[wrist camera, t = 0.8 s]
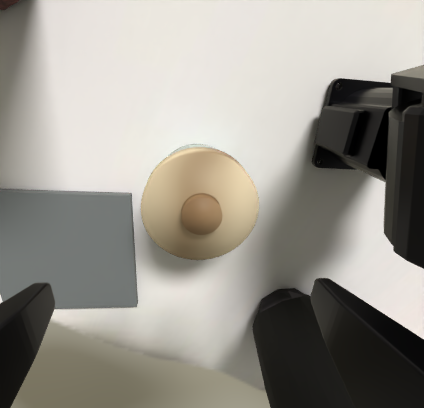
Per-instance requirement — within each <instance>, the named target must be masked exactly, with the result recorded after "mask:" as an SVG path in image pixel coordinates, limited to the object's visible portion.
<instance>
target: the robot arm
mask: <svg viewBox="0 0 424 408" xmlns="http://www.w3.org/2000/svg"><path fill="white" fill-rule="evenodd" d="M337 83H339V88H338V89H336V84H337ZM315 143H316V146H315V150H314V154H313V158H312V164H313V165H314V166H316V167H318V168H336V169H358V170H360V171H362V172H364V173H366V174H369V175H371V176H373V177H375V178H377V179H379V180H382V181H384V182H386V184H385V207H384V234H385V235H386V237H387V238H388V240H389V241H390V243H391V244H392V245H393V246H394V249H393V250H394V252H395V253H397V254H398V255H400V256H401V257H402V258H404V259H405V260H407V261H409V262H411V263H413V264H415V265H417V266H419V267H421V268H423V269H424V65H422V66H418V67H415V68H411V69H407V70H404V71H400V72H397V73H393V74H391V83H385V82H374V81H363V80H352V79H342V78H340V79H335V80H333V81H332V82H331V84H330V86H329V91H328V95H327V99H326V103H325V107H324V108H323V109H322V112H321V116H320V121H319V125H318V129H317V134H316V138H315ZM319 159H321V161H320V163H317V161H318V160H319ZM311 303H312V306H313V309H314V312H315V315H316V317H317V320H318V323H319V326H320V329H321V332H322V335H323V338H324V340H325V343H326V346H327V348H328V350H329V352H330V355H331V357H332V359H333V361H334V363H335V366H336V368H337V370H338V372H339V374H340V376H341V379H342V381H343V383H344V385H345V387H346V389H347V392H348V394H349V396H350V398H351V400H352V403H353V405H354V407H355V408H424V339H422V338H420V337H419V336H417V335H416V334H414V333H413V332H411V331H410V330H408V329H406V328H405V327H403V326H402V325H400V324H399V323H397V322H396V321H394V320H392V319H391V318H389V317H388V316H386V315H385V314H383V313H382V312H380V311H378V310H377V309H375V308H374V307H372V306H371V305H369V304H368V303H366V302H364V301H363V300H361V299H360V298H358V297H357V296H355V295H354V294H352V293H350V292H349V291H347V290H346V289H344V288H343V287H341V286H340V285H338V284H336V283H335V282H333V281H332V280H330V279H328V278H317V279H316V280H315V282H314V286H313V289H312V293H311ZM54 308H55V299H54V295H53V291H52V288H51V285H50V283H47V282H37V283H34V284H32V285H30V286H28V287H27V288H25V289H24V290H22V291H20V292H19V293H17V294H15V295H14V296H12V297H10V298H9V299H7V300H6V301H4V302H2V303H1V304H0V408H10V407H11V405H12V403H13V401H14V399H15V397H16V395H17V393H18V391H19V389H20V387H21V385H22V383H23V381H24V379H25V377H26V375H27V373H28V371H29V369H30V367H31V365H32V363H33V361H34V359H35V357H36V355H37V352H38V350H39V347H40V345H41V342H42V340H43V337H44V334H45V332H46V329H47V327H48V324H49V321H50V319H51V316H52V314H53V311H54Z"/></svg>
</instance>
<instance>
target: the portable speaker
mask: <svg viewBox="0 0 424 408" xmlns="http://www.w3.org/2000/svg"><path fill="white" fill-rule="evenodd" d="M253 334H254V339H255V343H256V348H257V353H258V357H259V362H260V366H261V371H262V376H263V380H264V385H265V389H266V393H267V396H268V400H269V403H270V407H271V408H355V407H354V405H353V403H352V400H351V398H350V396H349V394H348V392H347V389H346V387H345V385H344V383H343V381H342V379H341V376H340V374H339V372H338V370H337V368H336V366H335V363H334V361H333V359H332V357H331V355H330V352H329V350H328V348H327V346H326V343H325V340H324V338H323V335H322V332H321V329H320V326H319V323H318V320H317V317H316V315H315V312H314V309H313V306H312V303H311V296H308V295H306V294H304V293H302V292H300V291H299V290H297V289H295V288H292V289H279V290H277V291H275V292H273V293H272V294H270V295H268V296H266V297H265V298H263V299H262V300H261V304H260V307H259V311H258V313H257V316H256V319H255V321H254V324H253Z"/></svg>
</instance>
